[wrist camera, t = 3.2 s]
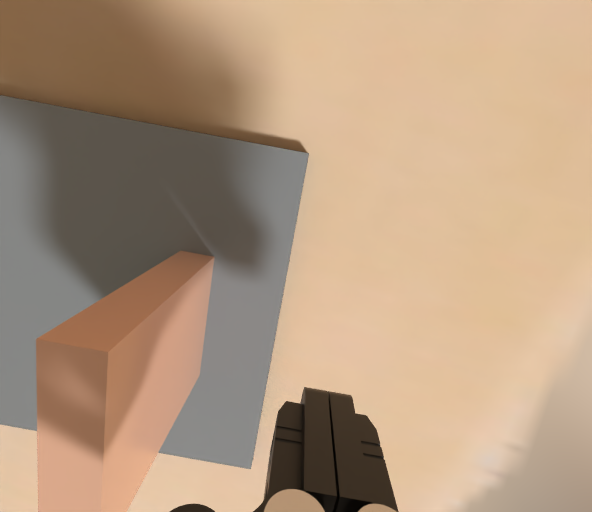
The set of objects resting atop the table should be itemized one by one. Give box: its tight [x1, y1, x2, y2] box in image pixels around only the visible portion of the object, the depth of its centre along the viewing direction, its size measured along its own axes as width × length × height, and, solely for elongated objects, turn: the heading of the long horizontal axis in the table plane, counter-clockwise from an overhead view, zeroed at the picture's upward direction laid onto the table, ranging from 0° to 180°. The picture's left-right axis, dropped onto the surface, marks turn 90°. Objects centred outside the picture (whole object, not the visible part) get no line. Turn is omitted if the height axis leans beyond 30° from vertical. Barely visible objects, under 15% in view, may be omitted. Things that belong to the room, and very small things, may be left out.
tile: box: [36, 251, 214, 512], centre depth 11 cm, size 6×2×8 cm, turn 170°
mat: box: [0, 95, 309, 469], centre depth 16 cm, size 16×14×1 cm
